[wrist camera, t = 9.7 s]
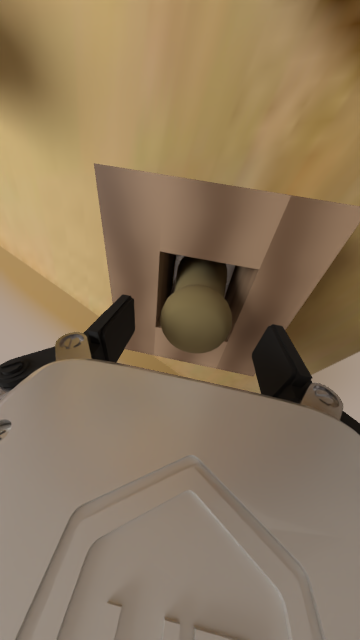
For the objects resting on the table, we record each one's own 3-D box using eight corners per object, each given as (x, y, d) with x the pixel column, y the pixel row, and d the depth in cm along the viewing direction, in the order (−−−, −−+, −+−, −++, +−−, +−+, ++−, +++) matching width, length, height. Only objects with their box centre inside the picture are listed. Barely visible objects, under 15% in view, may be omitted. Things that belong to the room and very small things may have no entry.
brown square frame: (303, 206, 15) (369, 208, 9) (242, 331, 25) (253, 376, 19) (140, 179, 16) (93, 163, 10) (141, 311, 26) (118, 347, 19)
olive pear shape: (223, 299, 21) (232, 370, 12) (177, 296, 22) (153, 360, 13) (231, 249, 17) (252, 297, 8) (175, 247, 18) (142, 290, 9)
